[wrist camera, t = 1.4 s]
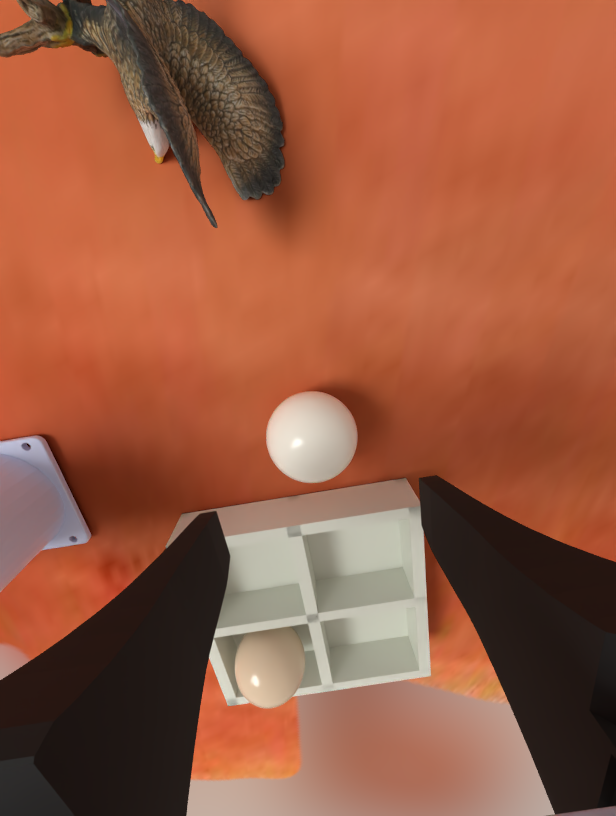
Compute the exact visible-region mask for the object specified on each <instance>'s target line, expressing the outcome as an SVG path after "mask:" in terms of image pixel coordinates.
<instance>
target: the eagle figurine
mask: <svg viewBox="0 0 616 816" xmlns="http://www.w3.org/2000/svg"><path fill="white" fill-rule="evenodd" d="M17 2H18V3H19V5H20V6H21V8H22V9H23V10H24V12H25V13H26V14H27V15H28V16H29V17H30V18H32V19H31V20H30V21H28V22H27V23H25V24H23V25H22V26H20V27H18V28H16V29H14V30H11V31H8V32H5V33H2V34H0V56H1V57H11V56H14V55H23V54H26V53H31V52H34V51H36V50H37V49H38V48H40V47H47V48H59V47H62V48H63V47H68V46H71V45H76V46H79V47H80V48H82V49H83V50H85V51H90V52H92V53H93V54H94V55H96V56H97V57H102V56H103V57H109V58H110V59H111V60H112V61H113V63H114V64H115V66H116V67H117V69H118V71H119V73H120V77H121V82H122V84H123V87H124V90H125V93H126V96H127V98H128V100H129V103H130V105H131V107H132V109H133V110H134V112H135V114H136V116H137V118H138V120H139V122H140V124H141V126H142V129H143V131H144V133H145V136H146V138H147V140H148V143H149V145H150V146H151V148H152V150H153V151H154V153H155V161H156V162H157V163H158V164H159V163H162V162H163V158H164V156H165V154H166V152H167V150H168V148H169V144H170V146H171V148H172V151H173V153H174V155H175V157H176V158H177V160H178V162H179V164H180V167H181V169H182V171H183V173H184V175H185V177H186V179H187V181H188V183H189V185H190V187H191V189H192V191H193V193H194V194H195V196H196V198H197V200H198V201H199V202H200V204H201V205H202V208H203V210H204V211H205V213H206V216H207V217H208V219H209V221H210V222H211V224H212V226H213V227H215V228H217V223H216V220H215V218H214V216H213V214H212V212H211V210H210V208H209V206H208V205H207V202H206V200H205V197H204V194H203V191H202V187H201V181H200V174H201V170H200V163H199V149H198V143H197V137H196V133H195V130H194V127H193V124H192V122H193V123H194V124H195V125H196V126H197V127H198V129H199V130H200V131H201V133H202V134H203V135H204V136H205V138H206V139H207V141H208V142H209V143H210V144H211V145H212V147H213V148H214V149H215V151H216V152H217V154H218V155H219V157H220V159H221V161H222V163H223V165H224V168H225V170H226V172H227V174H228V176H229V178H230V179H231V181H232V184H233V185H234V188H235V189H236V191H237V192H238V194H239V195H240V197H241V198H242V199H243V200H247V199H248V198H249V197H252V198H255V199H260V197H261V196H262V193H264V194H266V195H271V194H273V192H274V187H275V186H279V185H280V182H281V176H280V169H283V167H284V158H283V155H282V153H281V151H280V149H279V148H280V147H282V146H284V138H283V137H282V134H281V131H282V129H283V123H282V121H281V118H280V113H279V111H278V109H277V107H276V106H275V98H274V97H273V95H272V94H271V93H270V91H269V90H268V85H267V83H266V82H265V81H264V79H262V78H261V77H260V76H259V74H258V72H257V70H256V69H255V68H254V67H253V65H252V64H251V62H250V61H249V60H248V59H246V58H244V57H243V55H242V52H241V51H240V50H239V49H238V48H237V47H236V46H235V44H234V43H233V41H232V40H231V39H230V38H228V37H227V36H225V34H224V31H223V30H222V29H221V28H220V27H219V26H218V25H217V23H216V22H215V21H214V20H212V19H210V18H209V17H208V16H207V15H206V14H205V13H204V12H200V11H198V10H197V9H196V8H195V7H194V6H193V5H192V4H190V3H188V4H185V3H184V2H183V1H181V0H177V1H175V2H174V1H173V0H164V1H163V0H106V3H107V6H104V5H100V6H94V5H92V3H91V0H63V3H61V2H60V3H59V4H58V5H57V6H55V5H54V4H52V3H51V2H49V1H48V0H17ZM191 121H192V122H191Z"/></svg>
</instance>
